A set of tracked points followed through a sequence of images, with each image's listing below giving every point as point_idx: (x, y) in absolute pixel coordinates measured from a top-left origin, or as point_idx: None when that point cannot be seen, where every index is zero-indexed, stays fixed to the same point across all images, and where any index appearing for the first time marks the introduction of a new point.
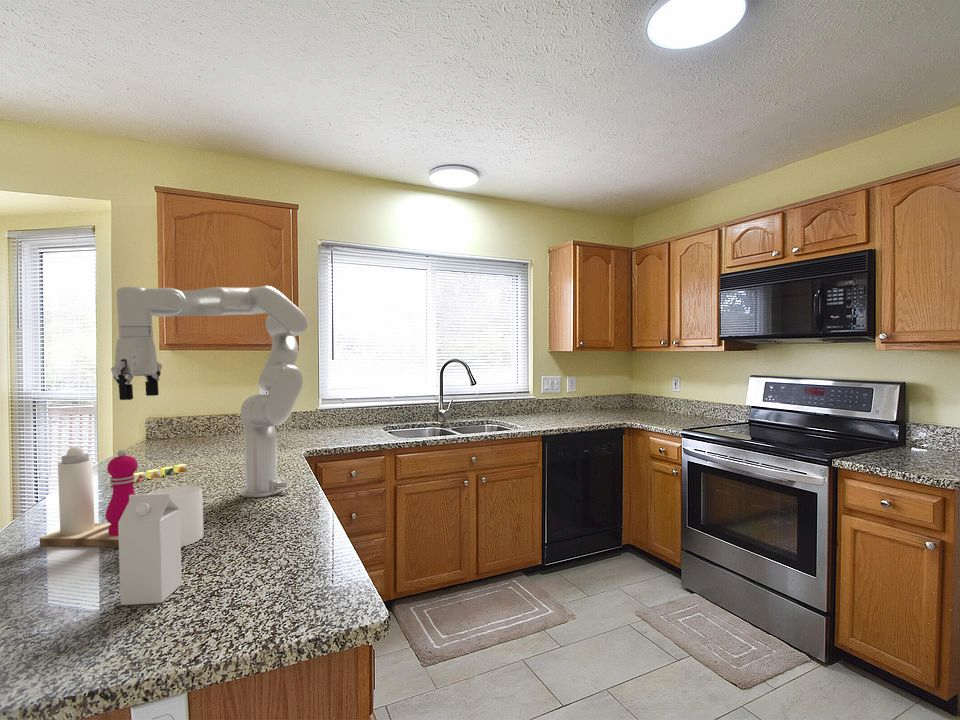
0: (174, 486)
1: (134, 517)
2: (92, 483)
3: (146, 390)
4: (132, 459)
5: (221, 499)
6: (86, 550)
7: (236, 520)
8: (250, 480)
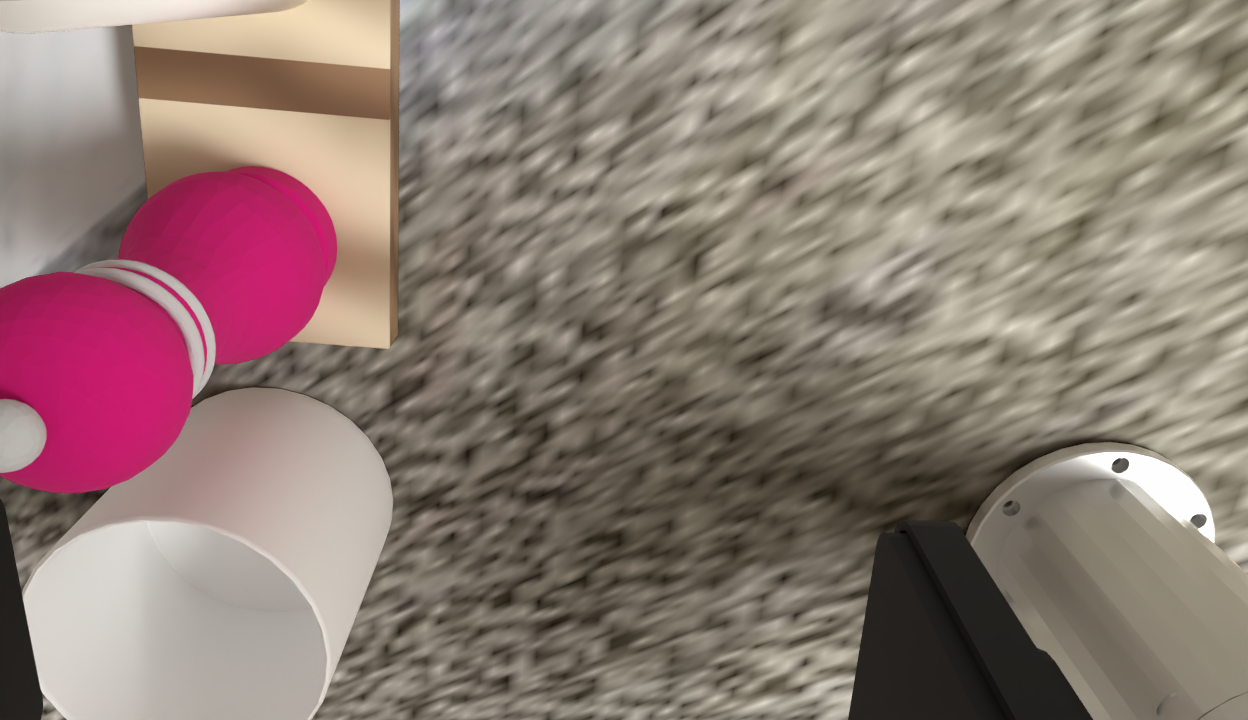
0: (296, 585)
1: None
2: (178, 16)
3: (920, 615)
4: (62, 490)
5: (973, 377)
6: (115, 128)
7: (564, 624)
8: (1041, 579)
